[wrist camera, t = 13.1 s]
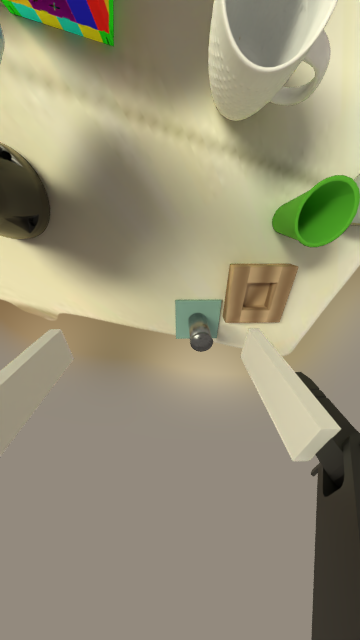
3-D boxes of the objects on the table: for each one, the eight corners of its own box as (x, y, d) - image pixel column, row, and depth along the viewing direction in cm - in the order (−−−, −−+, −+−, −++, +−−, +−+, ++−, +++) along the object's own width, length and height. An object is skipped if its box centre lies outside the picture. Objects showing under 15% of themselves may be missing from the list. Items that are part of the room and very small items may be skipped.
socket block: (222, 316, 45) (225, 322, 42) (230, 263, 38) (234, 266, 35) (272, 315, 45) (279, 322, 42) (289, 263, 38) (298, 266, 35)
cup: (254, 216, 33) (285, 211, 24) (296, 179, 31) (351, 155, 21) (273, 251, 37) (307, 259, 27) (313, 220, 34) (367, 217, 24)
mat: (176, 337, 48) (176, 338, 48) (175, 299, 42) (175, 300, 42) (216, 337, 48) (216, 338, 48) (221, 299, 42) (221, 300, 42)
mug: (309, 66, 24) (427, -79, 13) (266, 160, 29) (323, 115, 18) (220, 3, 22) (268, -251, 10) (190, 118, 27) (199, 34, 15)
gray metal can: (188, 328, 46) (190, 351, 37) (188, 312, 43) (190, 333, 35) (205, 328, 46) (211, 351, 37) (207, 312, 43) (214, 333, 35)
